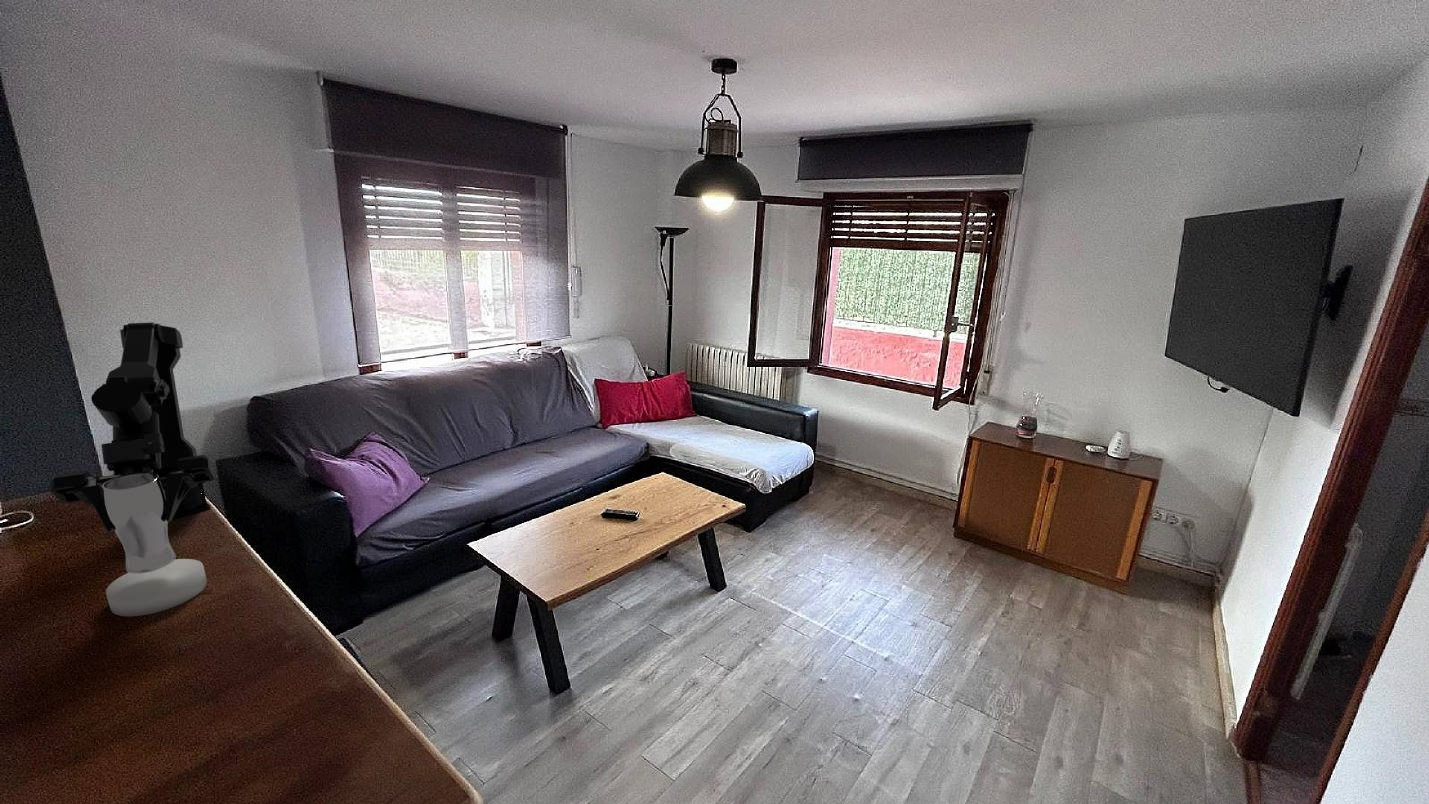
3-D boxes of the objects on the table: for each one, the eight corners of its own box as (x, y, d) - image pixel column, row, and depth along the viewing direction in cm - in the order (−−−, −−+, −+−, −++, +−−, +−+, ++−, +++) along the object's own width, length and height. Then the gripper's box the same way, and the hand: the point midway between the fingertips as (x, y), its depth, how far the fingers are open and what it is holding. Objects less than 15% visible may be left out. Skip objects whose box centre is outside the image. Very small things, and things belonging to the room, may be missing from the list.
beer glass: (189, 551, 102) (170, 471, 97) (161, 574, 95) (140, 489, 91) (142, 553, 100) (121, 472, 96) (110, 576, 94) (86, 491, 89)
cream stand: (192, 566, 107) (189, 551, 106) (218, 589, 101) (214, 574, 100) (100, 597, 98) (96, 582, 97) (123, 626, 91) (118, 609, 90)
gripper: (35, 427, 89) (32, 524, 83) (197, 410, 99) (204, 495, 94) (65, 457, 97) (64, 547, 92) (211, 439, 107) (218, 518, 102)
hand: (139, 526), depth 94 cm, fingers closed on beer glass, 6 cm apart
